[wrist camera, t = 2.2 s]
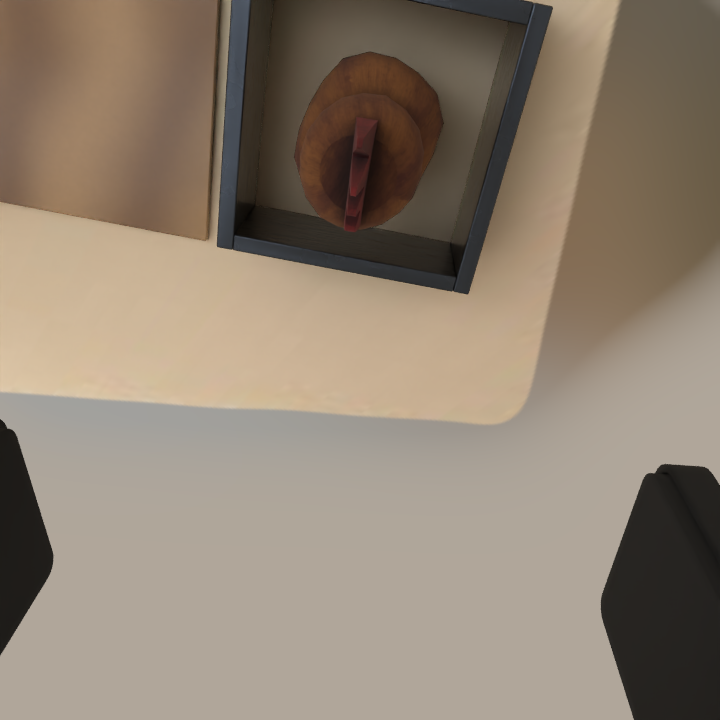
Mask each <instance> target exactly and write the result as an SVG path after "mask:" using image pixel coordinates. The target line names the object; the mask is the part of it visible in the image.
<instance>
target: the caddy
mask: <svg viewBox="0 0 720 720" xmlns="http://www.w3.org/2000/svg"><path fill="white" fill-rule="evenodd" d="M408 1H413V2H417V3H422V4H427V5H432V6H437V7H441V8H446V9H451V10H456V11H461V12H466V13H470V14H475V15H480V16H485V17H490V18H494V19H499V20H504V21H509V24H508V28H507V32H506V35H505V39H504V43H503V47H502V50H501V54H500V58H499V62H498V65H497V69H496V73H495V77H494V80H493V84H492V88H491V92H490V96H489V99H488V103H487V107H486V111H485V114H484V118H483V122H482V126H481V129H480V133H479V137H478V141H477V144H476V148H475V152H474V156H473V159H472V163H471V167H470V171H469V174H468V178H467V182H466V186H465V189H464V193H463V197H462V201H461V204H460V208H459V212H458V216H457V219H456V223H455V227H454V231H453V235H452V238H451V242H450V243H449V242H444V241H439V240H434V239H428V238H423V237H418V236H413V235H408V234H402V233H397V232H392V231H387V230H382V229H377V228H371V227H370V228H366V229H362V230H357V231H356V232H349V231H344V228H343V227H338V226H336V225H334V224H332V223H330V222H328V221H326V220H324V219H322V218H320V217H314V216H309V215H304V214H299V213H294V212H288V211H283V210H278V209H273V208H268V207H263V206H257V205H255V199H256V188H257V177H258V166H259V155H260V144H261V133H262V122H263V111H264V100H265V89H266V78H267V67H268V56H269V45H270V33H271V22H272V11H273V0H232V1H231V18H230V34H229V51H228V68H227V84H226V101H225V117H224V134H223V151H222V167H221V184H220V200H219V217H218V234H217V247H220V248H226V249H231V250H232V249H233V250H236V251H241V252H247V253H252V254H257V255H262V256H268V257H273V258H278V259H283V260H289V261H294V262H299V263H304V264H310V265H315V266H320V267H325V268H331V269H336V270H341V271H347V272H352V273H357V274H362V275H368V276H373V277H378V278H383V279H389V280H394V281H399V282H404V283H410V284H415V285H420V286H426V287H431V288H436V289H441V290H447V291H454V292H458V293H463V294H468V293H469V291H470V287H471V284H472V281H473V277H474V274H475V270H476V267H477V264H478V260H479V257H480V253H481V250H482V247H483V243H484V240H485V237H486V233H487V230H488V226H489V223H490V220H491V216H492V213H493V209H494V206H495V203H496V199H497V196H498V193H499V189H500V186H501V182H502V179H503V176H504V172H505V169H506V165H507V162H508V159H509V155H510V152H511V149H512V145H513V142H514V138H515V135H516V132H517V128H518V125H519V122H520V118H521V115H522V111H523V108H524V105H525V101H526V98H527V94H528V91H529V88H530V84H531V81H532V78H533V74H534V71H535V67H536V64H537V61H538V57H539V54H540V50H541V47H542V44H543V40H544V37H545V34H546V30H547V27H548V23H549V20H550V17H551V13H552V10H553V7H552V6H548V5H543V4H539V3H533V2H529V1H524V0H408Z"/></svg>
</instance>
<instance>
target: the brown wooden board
mask: <svg viewBox="0 0 720 720" xmlns="http://www.w3.org/2000/svg"><path fill="white" fill-rule="evenodd" d="M219 13H220V0H0V202H4V203H10V204H15V205H20V206H25V207H31V208H36V209H41V210H46V211H52V212H57V213H62V214H67V215H73V216H78V217H83V218H88V219H94V220H99V221H104V222H109V223H115V224H120V225H125V226H131V227H136V228H141V229H146V230H152V231H157V232H162V233H167V234H173V235H178V236H183V237H188V238H194V239H199V240H204V241H206V240H207V239H208V224H209V205H210V186H211V167H212V147H213V128H214V109H215V90H216V71H217V51H218V32H219Z"/></svg>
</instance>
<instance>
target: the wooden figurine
mask: <svg viewBox="0 0 720 720" xmlns="http://www.w3.org/2000/svg"><path fill="white" fill-rule="evenodd" d="M443 124H444V123H443V118H442V114H441V109H440V105H439V100H438V96H437V93H436V92H435V91H434V90H433V88H432V87H431V86H430V85H429V84H428V83H427V82H426V81H425V80H424V79H423V77H422V76H421V75H420V74H419V73H418V72H416V71H415V70H413V69H412V68H410V67H409V66H407V65H406V64H404V63H403V62H401V61H400V60H398V59H397V58H394V57H390V56H385V55H381V54H377V53H373V52H366V53H362V54H359V55H355V56H351V57H347V58H343V59H342V60H341V61H340V62H339V64H338V65H337V66H336V67H335V68H334V69H333V70H332V71H331V72H330V73H329V75H328V76H327V77H326V78H325V79H324V80H323V82H322V83H321V85H320V87H319V89H318V90H317V92H316V94H315V95H314V97H313V99H312V101H311V102H310V104H309V107H308V109H307V111H306V114H305V116H304V119H303V121H302V123H301V126H300V129H299V133H298V138H297V144H296V149H295V155H294V158H295V162H296V165H297V169H298V172H299V176H300V179H301V182H302V186H303V189H304V192H305V196H306V198H307V199H308V201H309V202H310V204H311V205H312V207H313V208H314V209H315V211H316V212H317V214H318V215H319V216H320V217H321V218H322V219H324V220H326V221H328V222H330V223H332V224H334V225H336V226H338V227H343V228H344V231H349V232H356V231H357V230H362V229H366V228H370V227H374V226H378V225H382V224H383V223H385V222H386V221H388V220H389V219H391V218H392V217H394V216H395V215H397V214H398V213H399V212H400V211H401V210H402V209H403V208H404V207H405V206H406V204H407V203H408V202H409V201H410V200H411V199H412V197H413V195H414V193H415V190H416V188H417V186H418V183H419V181H420V179H421V177H422V175H423V173H424V171H425V169H426V167H427V165H428V163H429V161H430V160H431V158H432V156H433V154H434V150H435V147H436V144H437V141H438V138H439V135H440V132H441V129H442V127H443Z"/></svg>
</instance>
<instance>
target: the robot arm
mask: <svg viewBox="0 0 720 720" xmlns="http://www.w3.org/2000/svg"><path fill="white" fill-rule="evenodd" d="M52 565H53V551H52V548H51V545H50V542H49V538H48V535H47V532H46V529H45V525H44V522H43V519H42V516H41V513H40V509H39V506H38V503H37V500H36V496H35V493H34V490H33V487H32V484H31V480H30V477H29V474H28V471H27V468H26V465H25V461H24V458H23V455H22V452H21V449H20V445H19V442H18V439H17V436H16V434H15V432H14V431H13V430H11V429H7V427H6V425H5V423H4V422H3V421H2V420H1V419H0V655H1V653H2V652H3V650H4V648H5V647H6V645H7V644H8V642H9V640H10V639H11V637H12V636H13V634H14V632H15V631H16V629H17V627H18V626H19V624H20V623H21V621H22V619H23V617H24V616H25V614H26V613H27V611H28V609H29V608H30V606H31V605H32V603H33V601H34V600H35V598H36V596H37V595H38V593H39V592H40V590H41V588H42V587H43V585H44V583H45V582H46V580H47V578H48V577H49V575H50V572H51V569H52ZM601 613H602V619H603V623H604V626H605V629H606V632H607V636H608V638H609V642H610V645H611V648H612V651H613V655H614V658H615V661H616V664H617V667H618V670H619V674H620V677H621V680H622V683H623V686H624V689H625V692H626V696H627V699H628V702H629V705H630V708H631V711H632V715H633V718H634V720H720V485H719V483H718V482H717V480H716V479H715V477H714V476H713V474H712V473H711V472H710V471H709V469H707V468H705V467H699V466H685V465H671V464H664V465H661V466H660V467H659V468H658V469H657V471H656V473H655V474H653V473H649V474H647V475H646V476H645V477H644V479H643V481H642V484H641V487H640V490H639V492H638V495H637V498H636V501H635V504H634V506H633V509H632V512H631V515H630V518H629V520H628V523H627V526H626V529H625V532H624V534H623V537H622V540H621V543H620V546H619V548H618V552H617V554H616V557H615V560H614V563H613V565H612V568H611V571H610V574H609V577H608V579H607V582H606V585H605V588H604V591H603V593H602V598H601Z"/></svg>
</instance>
